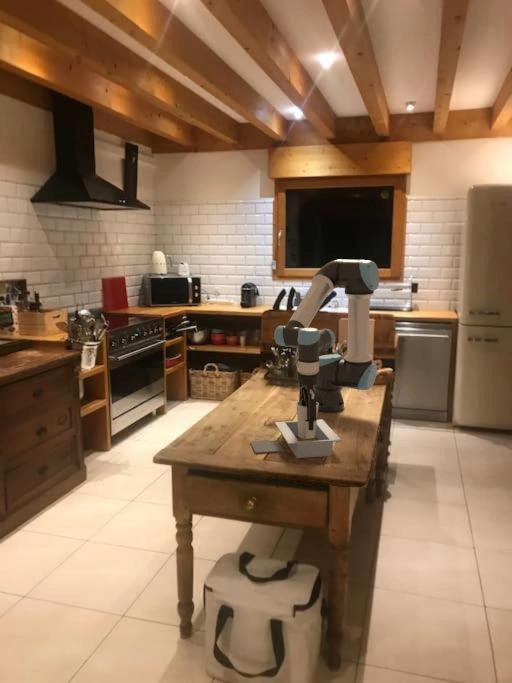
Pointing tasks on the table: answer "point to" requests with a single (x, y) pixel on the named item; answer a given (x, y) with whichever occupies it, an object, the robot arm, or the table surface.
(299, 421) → the cup
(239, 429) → the table surface
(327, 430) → the rectangular frame
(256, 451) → the pad
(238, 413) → the table surface
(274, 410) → the table surface
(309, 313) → the robot arm
